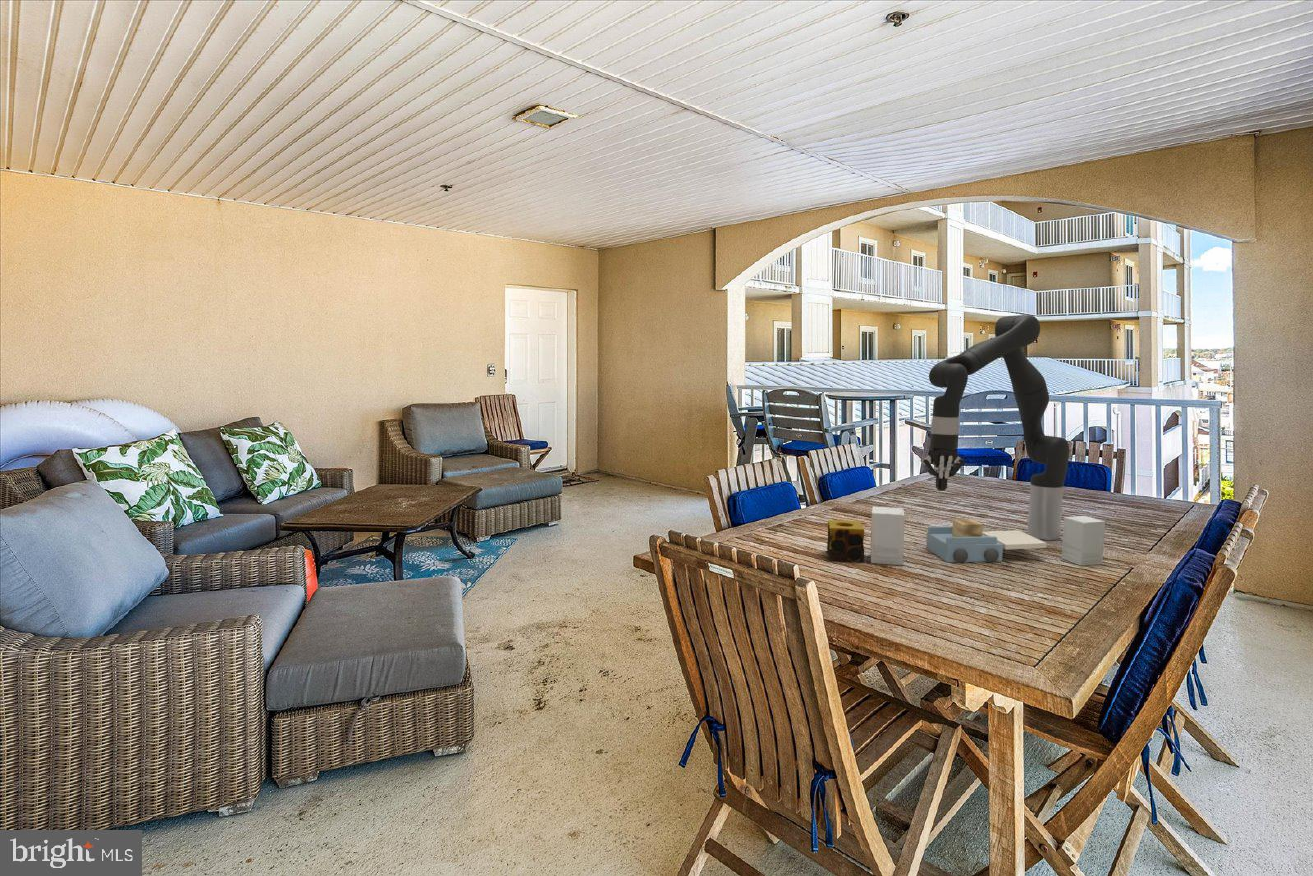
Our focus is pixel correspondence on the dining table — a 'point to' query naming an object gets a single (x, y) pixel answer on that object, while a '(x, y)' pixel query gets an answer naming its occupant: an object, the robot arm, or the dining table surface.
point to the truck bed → (962, 546)
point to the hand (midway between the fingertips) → (940, 490)
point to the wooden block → (967, 528)
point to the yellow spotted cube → (845, 541)
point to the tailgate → (1016, 539)
